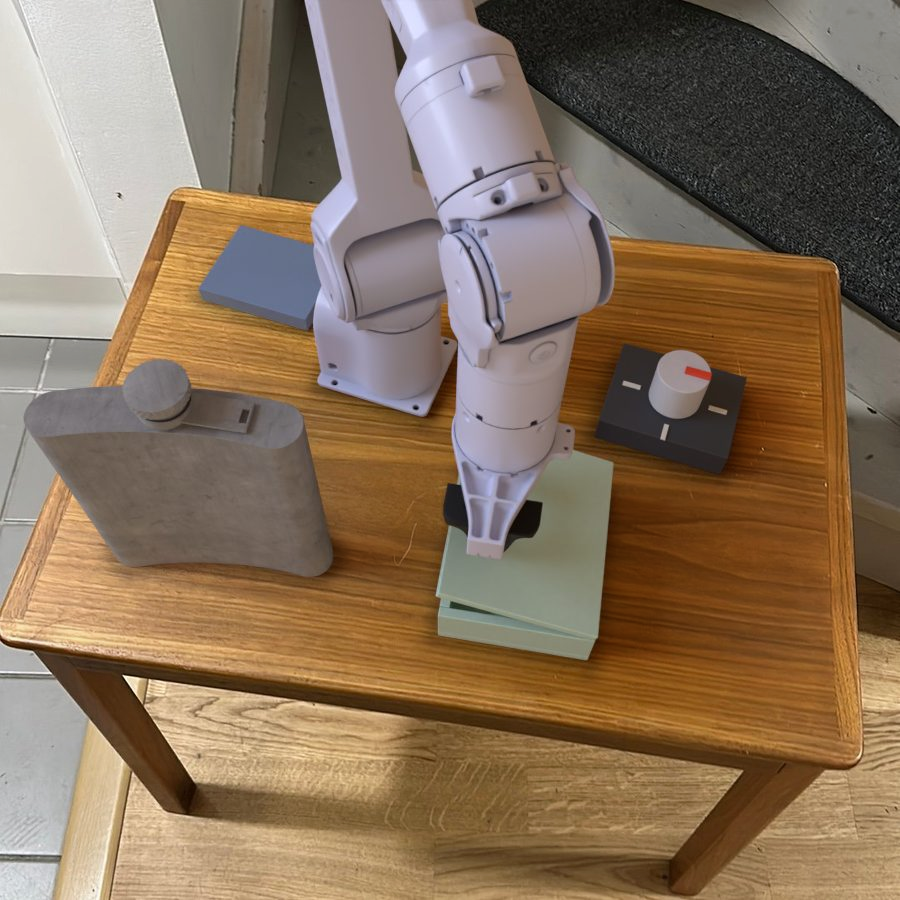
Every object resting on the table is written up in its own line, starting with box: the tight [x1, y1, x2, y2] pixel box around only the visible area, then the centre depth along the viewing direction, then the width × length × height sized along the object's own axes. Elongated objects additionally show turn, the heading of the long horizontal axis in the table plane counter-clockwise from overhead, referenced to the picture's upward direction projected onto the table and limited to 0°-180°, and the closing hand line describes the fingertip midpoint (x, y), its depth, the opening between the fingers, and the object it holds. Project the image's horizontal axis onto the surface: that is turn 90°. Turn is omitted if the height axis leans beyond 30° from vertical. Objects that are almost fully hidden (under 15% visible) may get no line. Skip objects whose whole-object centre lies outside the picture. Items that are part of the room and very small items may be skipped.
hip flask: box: [23, 358, 335, 578], centre depth 59 cm, size 16×4×20 cm, turn 87°
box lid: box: [435, 449, 614, 641], centre depth 61 cm, size 11×13×4 cm
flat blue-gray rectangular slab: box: [198, 224, 322, 331], centre depth 80 cm, size 10×8×2 cm
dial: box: [649, 349, 712, 419], centre depth 70 cm, size 4×4×4 cm
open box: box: [437, 598, 596, 661], centre depth 65 cm, size 10×13×4 cm
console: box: [593, 342, 747, 475], centre depth 73 cm, size 10×8×3 cm
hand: (495, 505), depth 61 cm, fingers closed on box lid, 5 cm apart
